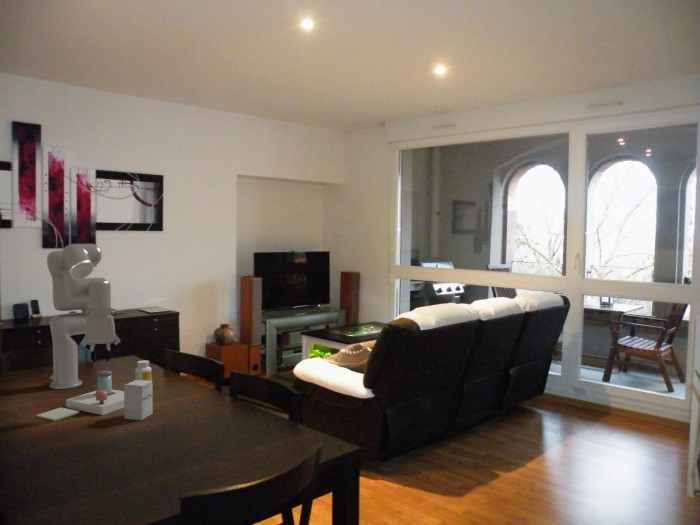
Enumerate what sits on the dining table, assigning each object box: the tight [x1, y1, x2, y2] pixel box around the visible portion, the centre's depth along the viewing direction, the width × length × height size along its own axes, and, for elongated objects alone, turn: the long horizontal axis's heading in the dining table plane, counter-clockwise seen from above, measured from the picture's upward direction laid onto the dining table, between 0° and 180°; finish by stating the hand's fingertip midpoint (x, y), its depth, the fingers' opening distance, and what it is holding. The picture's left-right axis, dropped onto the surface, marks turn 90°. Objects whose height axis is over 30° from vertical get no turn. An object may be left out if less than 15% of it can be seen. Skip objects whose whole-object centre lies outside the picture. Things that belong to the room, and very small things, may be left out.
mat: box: [36, 406, 80, 422], centre depth 202 cm, size 10×10×1 cm
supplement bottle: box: [134, 359, 153, 382], centre depth 231 cm, size 7×7×13 cm
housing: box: [65, 388, 124, 416], centre depth 214 cm, size 20×18×3 cm
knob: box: [95, 389, 107, 404], centre depth 206 cm, size 4×4×6 cm
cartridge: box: [96, 370, 113, 396], centre depth 218 cm, size 6×6×12 cm
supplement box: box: [123, 379, 154, 421], centre depth 200 cm, size 7×7×13 cm
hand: (100, 360), depth 205 cm, fingers open, 3 cm apart
